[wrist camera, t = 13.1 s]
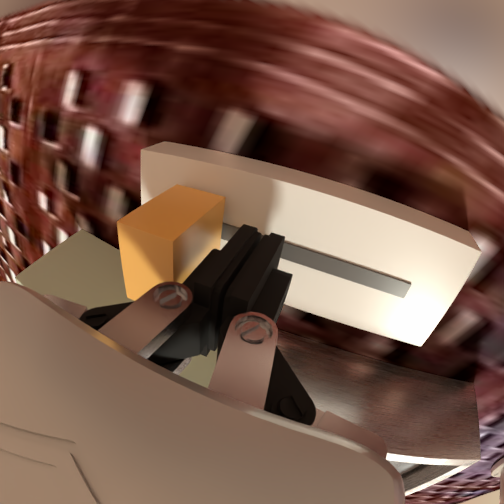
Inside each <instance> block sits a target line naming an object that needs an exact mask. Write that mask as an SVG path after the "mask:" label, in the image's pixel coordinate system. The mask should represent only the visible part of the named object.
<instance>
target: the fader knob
mask: <svg viewBox="0 0 504 504" xmlns="http://www.w3.org/2000/svg"><path fill="white" fill-rule="evenodd" d="M225 198H226V197H224V196H220V195H216V194H213V193H209V192H205V191H201V190H197V189H194V188H190V187H186V186H182V185H178V184H177V185H175V186H173V187H172V188H170V189H168V190H166V191H165V192H163V193H161V194H160V195H158V196H156V197H155V198H153V199H151V200H150V201H148V202H146V203H145V204H143V205H142V206H140V207H138V208H137V209H135V210H134V211H132V212H130V213H129V214H127V215H126V216H124V217H123V218H121V219H120V220H118V221H117V229H118V238H119V247H120V255H121V262H122V269H123V276H124V282H125V288H126V294H127V298H129V299H132V300H134V301H136V300H137V299H138V298H140V297H141V296H142V295H143V294H145V293H146V292H147V291H149V290H150V289H151V288H152V287H154V286H156V285H157V284H159V283H163V282H170V281H172V282H179V283H181V284H182V283H183V282H184V281H185V280H186V278H187V277H188V276H189V275H190V274H191V273H192V272H193V271H194V269H195V268H196V267H197V266H198V265H199V264H200V263H201V262H202V260H203V259H204V258H205V257H206V256H207V255H208V254H209V253H210V252H211V250H213V249H218V250H220V242H221V233H222V224H223V215H224V206H225Z"/></svg>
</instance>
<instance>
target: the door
mask: <svg viewBox="0 0 504 504" xmlns="http://www.w3.org/2000/svg"><path fill="white" fill-rule="evenodd" d="M15 279H16V282H17V284H20V285H23V286H25V287H28V288H30V289H32V290H34V291H36V292H38V293H39V294H41V295H46V294H48V295H53V296H56V297H59V298H62V299H65V300H68V301H71V302H74V303H77V304H80V305H83V306H86V307H87V309H88V310H89V309H92V308H95V307H101V306H108V305H114V304H121V303H127V302H133V301H134V300H132V299H129V298H127V294H126V288H125V282H124V276H123V269H122V262H121V255H120V250H118V249H116V248H115V247H113V246H111V245H109V244H107V243H106V242H104V241H102V240H100V239H99V238H97V237H95V236H93V235H92V234H90V233H88V232H86V231H85V230H83V229H82V230H80V231H79V232H77V233H76V234H74V235H73V236H71V237H70V238H68V239H67V240H65V241H64V242H62V243H61V244H59V245H58V246H57V247H55V248H54V249H52V250H51V251H49V252H48V253H47V254H45V255H44V256H42V257H41V258H40V259H38V260H37V261H36V262H34V263H33V264H32V265H30V266H29V267H28V268H26V269H25V270H24V271H22V272H21V273H20V274H19V275H17V276H16V277H15ZM217 349H218V348H217ZM217 349H216V351H212V350H210V352H209V353H208V355H207V357H205V356H203V355H198V356H194V357H192V360H191V361H190V363H189V364H188V366H187V367H186V368H185V369H184V370H183V371H182V372H181V373H180V374H179V376H181V377H184V378H186V379H188V380H190V381H192V382H194V383H197V384H199V385H201V386H203V387H206V388H208V386H209V383H210V380H211V377H212V374H213V371H214V368H215V366H216V359H217Z"/></svg>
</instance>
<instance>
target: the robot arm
mask: <svg viewBox="0 0 504 504" xmlns="http://www.w3.org/2000/svg"><path fill="white" fill-rule="evenodd" d="M260 240H261V241H260ZM284 240H285V236H282V235H279V234H275V233H272V232H271V233H270V235H266V234H265V235H264V236H263V238H262V239H261V233H260V232H258V229H257V228H256V227H253V226H249V225H246V224H243V225H242V226H241V227H240V228H239V230H238V231H237V232H236V233H235V234H234V235H233V236H232V238H231V239H230V240H229V241H228V242H227V243H226V245H225V246H224V247H223V248H222V249H221V250H218V249H213V250H211V252H210V253H209V254H208V255H207V256H206V257H205V258H204V259H203V260H202V262H201V263H200V264H199V265H198V266H197V267H196V268H195V269H194V271H193V272H192V273H191V274H190V275H189V276H188V277H187V278H186V280H185V281H184V282H183V283H182V284H181V283H179V282H172V281H170V282H163V283H159V284H157V285H156V286H154V287H152V288H151V289H150V290H149V291H147V292H146V293H145V294H143V295H142V296H141V297H140V298H138V299H137V300H136V301H133V302H127V303H121V304H114V305H108V306H101V307H95V308H92V309H89V310H88V309H87V307H86V306H83V305H80V304H77V303H74V302H71V301H68V300H65V299H62V298H59V297H56V296H53V295H48V294H46V295H41V294H39V293H38V292H36V291H34V290H32V289H30V288H28V287H25V286H23V285H20V284H17V283H12V282H5V281H0V504H405V488H404V483H403V480H402V477H401V475H400V473H399V472H398V470H397V469H396V468H395V467H394V466H393V465H392V464H391V463H390V462H389V461H387V460H386V456H387V451H388V450H387V446H386V443H385V442H384V440H383V439H382V438H381V437H380V436H378V435H377V434H375V433H373V432H371V431H368V430H366V429H364V428H362V427H360V426H358V425H356V424H354V423H352V422H350V421H347V420H345V419H343V418H341V417H339V416H337V415H335V414H333V413H332V412H330V411H328V410H327V411H326V412H323V411H321V410H319V409H317V408H316V407H315V405H314V403H313V401H312V399H311V398H310V396H309V395H308V393H307V392H306V390H305V388H304V387H303V385H302V384H301V382H300V381H299V379H298V378H297V376H296V375H295V373H294V372H293V370H292V369H291V367H290V366H289V364H288V363H287V361H286V359H285V358H284V356H283V355H282V353H281V352H280V350H279V349H278V347H277V345H276V343H277V337H278V329H277V326H276V322H277V320H278V317H279V315H280V312H281V310H282V307H283V305H284V302H285V299H286V296H287V293H288V290H289V287H290V283H291V280H292V276H293V274H291V273H287V272H284V271H281V270H278V265H279V261H280V257H281V253H282V249H283V244H284ZM217 348H218V349H217ZM216 349H217V359H216V366H215V368H214V371H213V374H212V377H211V380H210V383H209V386H208V388H206V387H203V386H201V385H199V384H197V383H194V382H192V381H190V380H188V379H186V378H184V377H181V376H179V374H180V373H181V372H182V371H183V370H184V369H185V368H186V367H187V366H188V364H189V363H190V361H191V360H192V357H194V356H198V355H203V356H205V357H207V355H208V353H209V352H210V350H212V351H216ZM491 476H493V477H500V501H499V504H504V458H502V459H501V460H499V461H498V462H497V463H496V464H494V466H493V467H492V468H491Z"/></svg>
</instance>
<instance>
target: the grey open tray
mask: <svg viewBox="0 0 504 504" xmlns="http://www.w3.org/2000/svg"><path fill="white" fill-rule="evenodd" d="M276 345H277V347H278V349H279V350H280V352H281V353H282V355H283V356H284V358H285V359H286V361H287V363H288V364H289V366H290V367H291V369H292V370H293V372H294V373H295V375H296V376H297V378H298V379H299V381H300V382H301V384H302V385H303V387H304V388H305V390H306V392H307V393H308V395H309V396H310V398H311V399H312V401H313V403H314V405H315V407H316V408H317V409H319V410H321V411H323V412H326V411H327V410H328V411H330V412H332V413H333V414H335V415H337V416H339V417H341V418H343V419H345V420H347V421H350V422H352V423H354V424H356V425H358V426H360V427H362V428H364V429H366V430H368V431H371V432H373V433H375V434H377V435H378V436H380V437H381V438H382V439H383V440H384V442H385V443H386V446H387V450H388V451H387V456H386V460H387V461H389V462H390V463H391V464H392V465H393V466H394V467H395V468H396V469H397V470H398V472H399V473H400V475H401V477H402V480H403V483H404V488H405V496H406V495H409V494H411V493H414V492H416V491H419V490H421V489H424V488H426V487H428V486H431V485H433V484H435V483H437V482H439V481H442V480H444V479H446V478H448V477H450V476H452V475H454V474H456V473H458V472H460V471H462V470H463V469H465V468H467V467H469V466H471V465H472V464H474V463H476V462H478V461H479V460H481V453H480V432H479V420H478V410H477V402H476V394H475V388H474V383H470V382H465V381H460V380H456V379H451V378H447V377H442V376H438V375H434V374H430V373H425V372H421V371H417V370H413V369H409V368H405V367H402V366H398V365H394V364H390V363H387V362H383V361H379V360H376V359H372V358H369V357H365V356H362V355H358V354H355V353H352V352H348V351H345V350H342V349H338V348H335V347H332V346H329V345H325V344H322V343H319V342H316V341H313V340H310V339H307V338H304V337H301V336H298V335H295V334H292V333H289V332H286V331H283V330H280V329H278V337H277V343H276Z"/></svg>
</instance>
